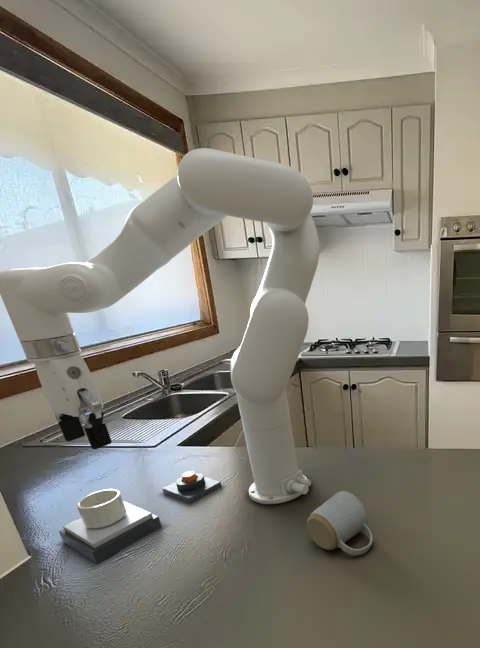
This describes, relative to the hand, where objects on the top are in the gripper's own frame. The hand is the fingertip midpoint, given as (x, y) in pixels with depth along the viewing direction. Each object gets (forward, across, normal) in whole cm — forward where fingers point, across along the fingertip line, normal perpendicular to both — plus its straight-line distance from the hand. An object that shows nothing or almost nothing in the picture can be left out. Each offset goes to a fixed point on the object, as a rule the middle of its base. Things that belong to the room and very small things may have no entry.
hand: (88, 442), depth 77 cm
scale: (+18, -3, +3) cm, 18 cm away
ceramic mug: (+19, -44, -16) cm, 50 cm away
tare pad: (+18, -2, -15) cm, 24 cm away
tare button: (+15, -2, -15) cm, 22 cm away
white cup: (+14, -3, +3) cm, 15 cm away
